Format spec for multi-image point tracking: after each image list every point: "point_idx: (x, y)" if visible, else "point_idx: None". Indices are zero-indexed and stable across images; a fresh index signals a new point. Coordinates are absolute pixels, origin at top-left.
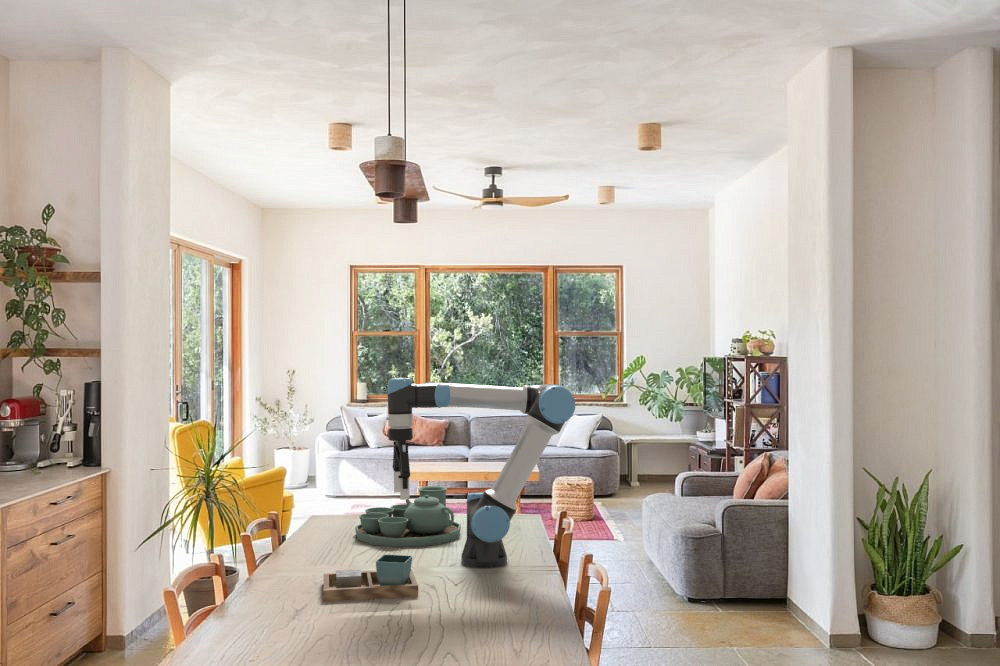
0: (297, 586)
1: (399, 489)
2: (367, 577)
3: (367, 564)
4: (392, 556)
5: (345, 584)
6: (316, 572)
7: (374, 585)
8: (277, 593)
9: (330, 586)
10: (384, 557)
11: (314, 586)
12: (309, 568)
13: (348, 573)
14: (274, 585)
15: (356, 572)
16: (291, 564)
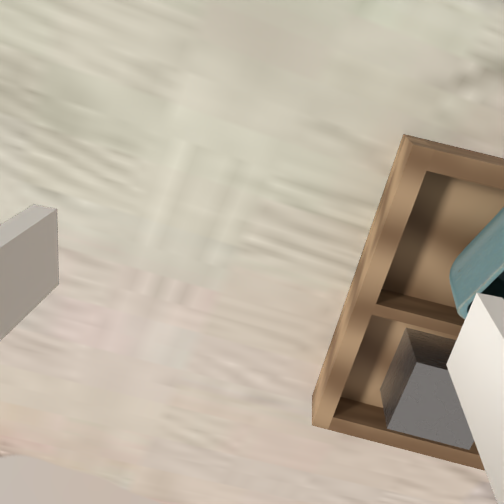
0: (274, 445)
1: (44, 251)
2: (431, 328)
3: (89, 203)
4: (488, 282)
5: None
6: (143, 369)
7: (417, 285)
8: (317, 495)
9: (354, 396)
10: (468, 309)
11: (294, 412)
12: (91, 373)
13: (446, 408)
14: (239, 483)
15: (449, 384)
16: (32, 401)
